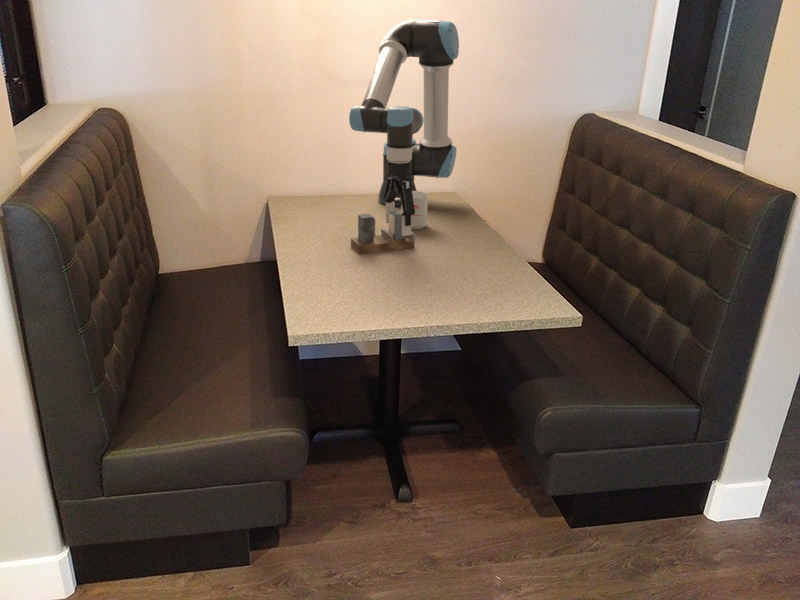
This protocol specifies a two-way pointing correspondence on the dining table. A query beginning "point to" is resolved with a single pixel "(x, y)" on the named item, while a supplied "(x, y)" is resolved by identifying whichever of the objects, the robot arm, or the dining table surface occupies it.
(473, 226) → the dining table surface
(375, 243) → the wooden block stand
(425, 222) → the mug
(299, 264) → the dining table surface
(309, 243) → the dining table surface
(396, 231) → the grey block tan top
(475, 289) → the dining table surface
